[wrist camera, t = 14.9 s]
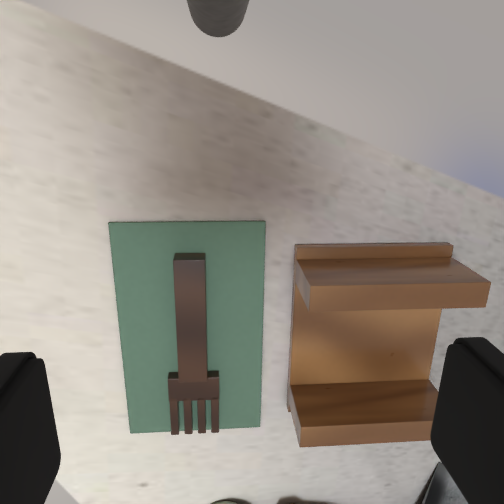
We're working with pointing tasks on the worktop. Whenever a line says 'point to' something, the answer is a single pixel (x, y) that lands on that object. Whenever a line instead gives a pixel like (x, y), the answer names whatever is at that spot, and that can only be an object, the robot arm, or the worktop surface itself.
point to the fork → (192, 347)
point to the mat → (164, 319)
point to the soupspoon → (225, 502)
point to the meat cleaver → (443, 489)
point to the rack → (370, 338)
